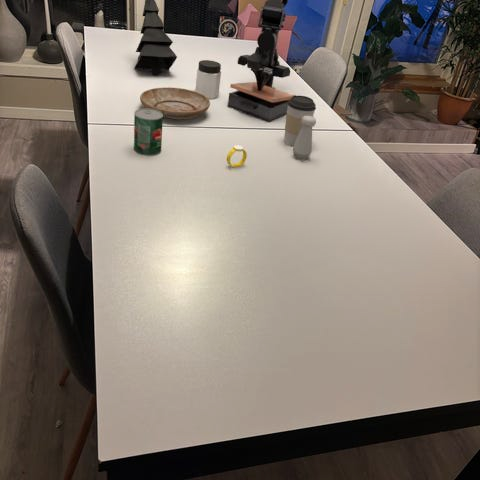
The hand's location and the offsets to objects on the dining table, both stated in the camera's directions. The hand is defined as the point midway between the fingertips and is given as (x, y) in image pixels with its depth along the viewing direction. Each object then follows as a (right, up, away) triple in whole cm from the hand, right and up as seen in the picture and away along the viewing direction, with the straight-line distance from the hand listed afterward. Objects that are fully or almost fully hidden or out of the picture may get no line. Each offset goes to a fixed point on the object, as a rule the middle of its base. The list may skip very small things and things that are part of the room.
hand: (259, 90), depth 180 cm
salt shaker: (+12, -28, -24) cm, 38 cm away
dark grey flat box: (0, -5, +6) cm, 8 cm away
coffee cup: (+11, -22, -15) cm, 28 cm away
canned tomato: (-34, -28, -34) cm, 55 cm away
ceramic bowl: (-29, -10, -7) cm, 32 cm away
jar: (-20, +1, +11) cm, 23 cm away
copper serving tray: (+1, 0, +3) cm, 3 cm away
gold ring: (-8, -32, -35) cm, 48 cm away
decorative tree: (-43, +17, +29) cm, 55 cm away
